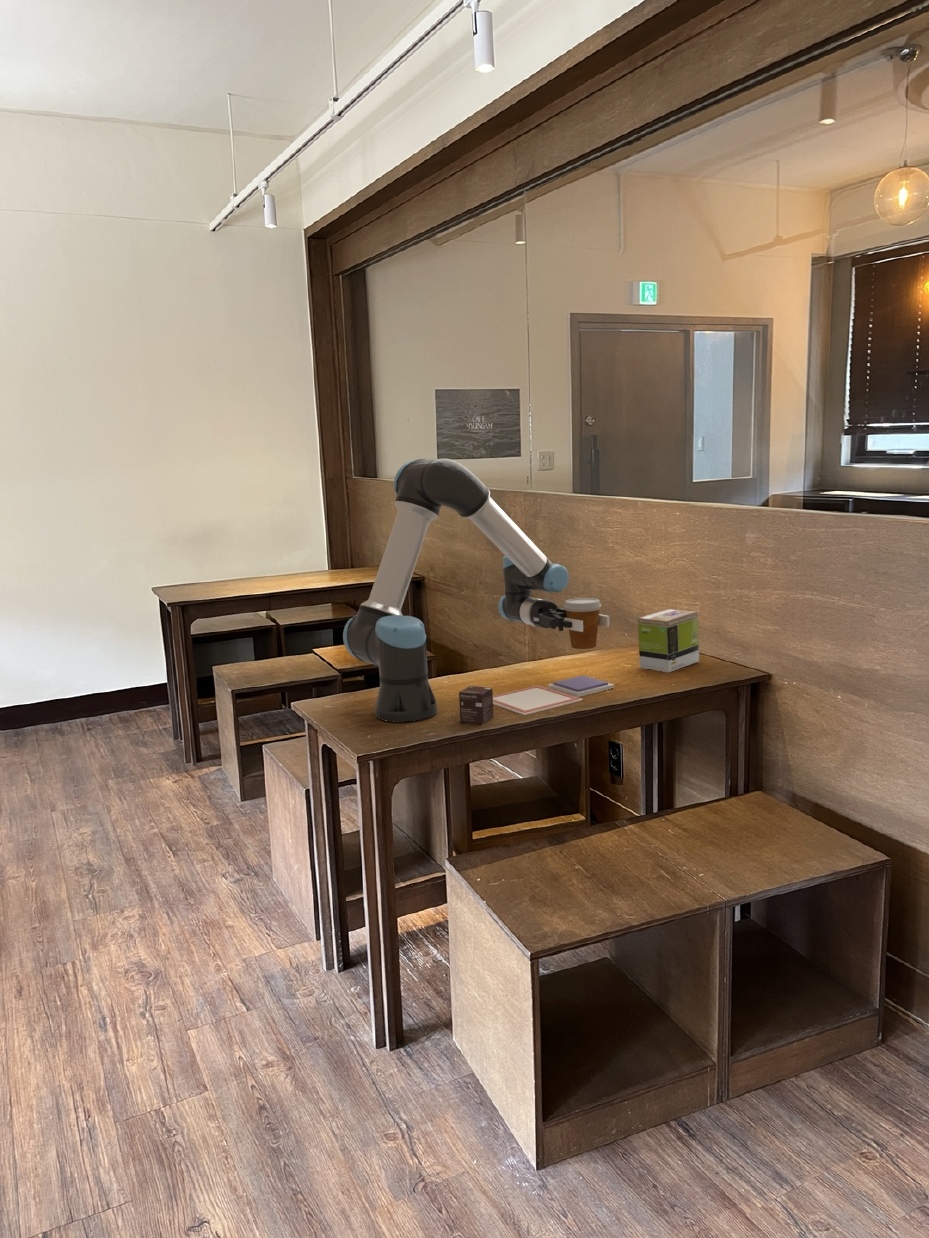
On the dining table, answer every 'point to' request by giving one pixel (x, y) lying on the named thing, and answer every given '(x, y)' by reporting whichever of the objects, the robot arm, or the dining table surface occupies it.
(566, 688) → the ink pad
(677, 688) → the dining table surface
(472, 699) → the box
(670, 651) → the tea box
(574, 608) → the disposable coffee cup
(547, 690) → the marked board
